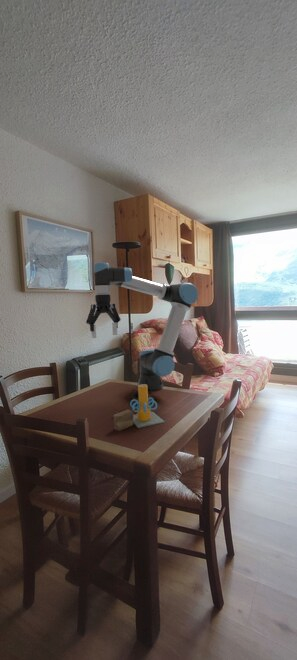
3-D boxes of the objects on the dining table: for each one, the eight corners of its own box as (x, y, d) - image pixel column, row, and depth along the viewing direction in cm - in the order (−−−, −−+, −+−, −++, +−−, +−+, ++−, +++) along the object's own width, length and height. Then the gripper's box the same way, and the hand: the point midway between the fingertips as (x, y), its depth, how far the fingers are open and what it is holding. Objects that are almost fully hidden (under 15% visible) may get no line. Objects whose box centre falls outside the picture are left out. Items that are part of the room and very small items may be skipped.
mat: (152, 412, 139) (152, 411, 139) (164, 422, 127) (164, 421, 127) (127, 417, 134) (127, 415, 134) (137, 428, 122) (137, 426, 122)
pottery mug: (136, 396, 166) (143, 383, 165) (148, 406, 161) (156, 393, 161) (124, 397, 156) (132, 383, 155) (137, 407, 151) (145, 393, 150)
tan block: (114, 429, 122) (113, 415, 122) (128, 423, 128) (128, 409, 127) (119, 431, 120) (118, 416, 120) (133, 424, 126) (132, 410, 125)
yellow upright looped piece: (141, 426, 122) (140, 391, 121) (125, 420, 130) (124, 386, 128) (162, 418, 130) (161, 384, 129) (146, 412, 138) (145, 380, 136)
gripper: (116, 294, 162) (118, 333, 164) (77, 294, 143) (79, 338, 145) (126, 293, 156) (127, 334, 158) (86, 294, 138) (89, 339, 140)
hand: (104, 336), depth 152 cm, fingers open, 13 cm apart
